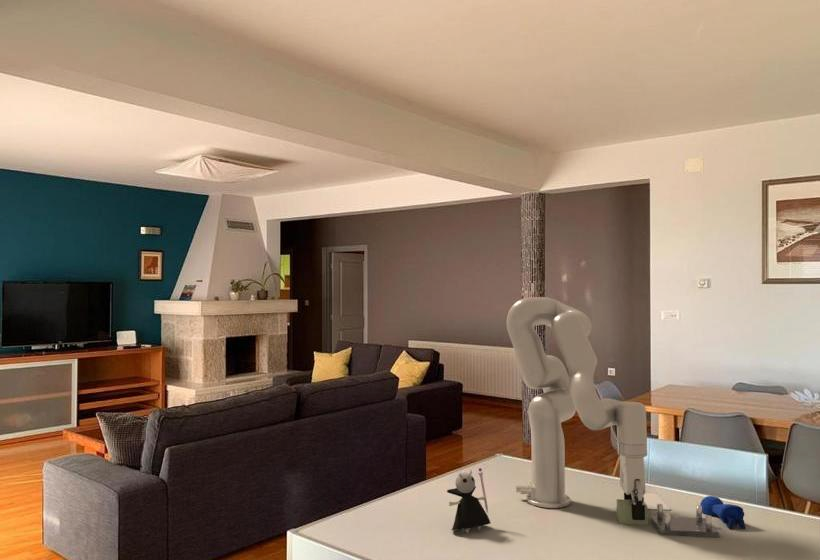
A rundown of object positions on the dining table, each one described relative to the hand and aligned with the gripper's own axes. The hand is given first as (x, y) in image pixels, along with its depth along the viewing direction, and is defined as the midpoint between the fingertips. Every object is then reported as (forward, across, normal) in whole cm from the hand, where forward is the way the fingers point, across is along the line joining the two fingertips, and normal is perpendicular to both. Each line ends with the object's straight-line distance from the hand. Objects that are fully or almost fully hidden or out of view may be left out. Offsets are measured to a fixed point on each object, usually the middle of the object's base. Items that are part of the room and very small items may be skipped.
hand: (634, 513), depth 168 cm
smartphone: (+3, -17, +8) cm, 19 cm away
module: (+2, 0, -1) cm, 2 cm away
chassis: (+2, +4, +11) cm, 12 cm away
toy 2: (+3, -5, +24) cm, 24 cm away
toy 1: (+2, +11, -44) cm, 45 cm away
